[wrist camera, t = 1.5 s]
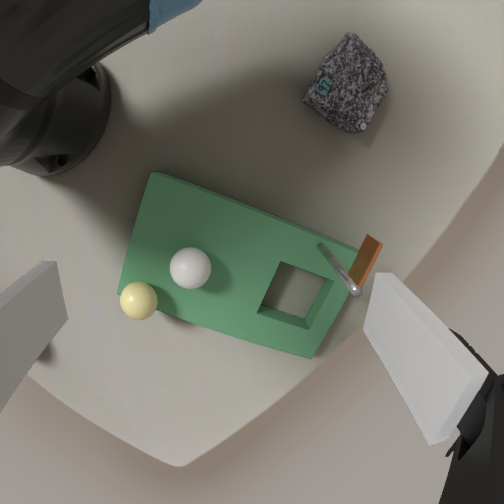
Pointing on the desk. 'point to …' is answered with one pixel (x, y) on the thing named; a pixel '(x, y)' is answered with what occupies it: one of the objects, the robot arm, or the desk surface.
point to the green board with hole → (231, 264)
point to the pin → (354, 264)
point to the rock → (348, 85)
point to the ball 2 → (190, 268)
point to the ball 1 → (138, 300)
